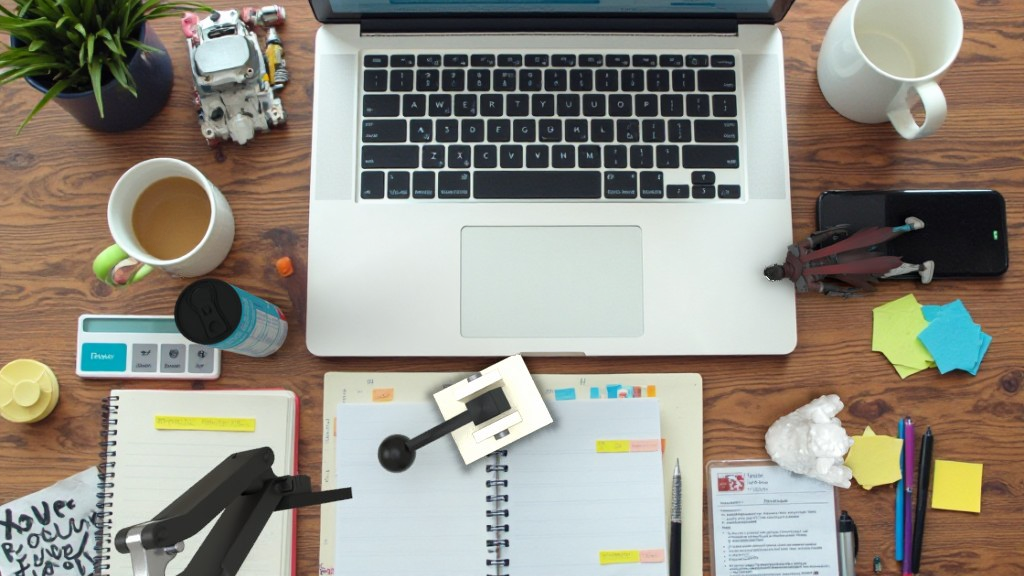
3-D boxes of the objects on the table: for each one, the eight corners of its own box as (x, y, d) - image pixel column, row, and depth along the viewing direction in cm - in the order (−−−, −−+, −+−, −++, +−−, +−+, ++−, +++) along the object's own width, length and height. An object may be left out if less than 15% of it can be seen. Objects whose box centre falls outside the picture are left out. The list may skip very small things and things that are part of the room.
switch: (401, 472, 74) (379, 483, 71) (386, 438, 75) (363, 447, 72) (518, 414, 69) (500, 422, 65) (500, 377, 69) (482, 384, 66)
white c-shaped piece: (466, 464, 80) (454, 475, 65) (434, 394, 81) (414, 389, 66) (553, 421, 80) (560, 422, 66) (519, 352, 82) (518, 338, 67)
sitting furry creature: (849, 487, 79) (906, 499, 67) (765, 493, 79) (808, 505, 67) (836, 394, 80) (890, 389, 69) (753, 399, 80) (793, 396, 69)
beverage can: (282, 295, 83) (231, 269, 68) (297, 347, 82) (248, 332, 67) (229, 313, 83) (166, 290, 68) (243, 365, 82) (182, 353, 67)
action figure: (904, 219, 84) (745, 244, 83) (934, 199, 78) (763, 226, 77) (926, 289, 82) (763, 316, 81) (958, 274, 76) (783, 303, 75)
